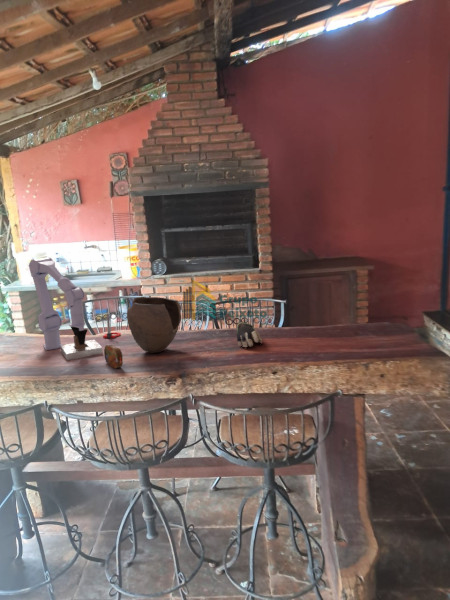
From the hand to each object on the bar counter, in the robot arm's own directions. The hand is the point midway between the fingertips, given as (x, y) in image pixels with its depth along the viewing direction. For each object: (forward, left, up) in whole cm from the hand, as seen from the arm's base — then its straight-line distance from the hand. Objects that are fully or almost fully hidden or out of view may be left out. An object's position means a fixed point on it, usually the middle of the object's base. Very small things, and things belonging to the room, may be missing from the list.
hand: (80, 342), depth 211 cm
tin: (+28, +8, -5) cm, 30 cm away
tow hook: (-20, +20, -5) cm, 29 cm away
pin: (0, 0, -5) cm, 5 cm away
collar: (0, 0, -5) cm, 5 cm away
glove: (+34, +71, -5) cm, 79 cm away
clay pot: (+21, +30, -5) cm, 37 cm away
